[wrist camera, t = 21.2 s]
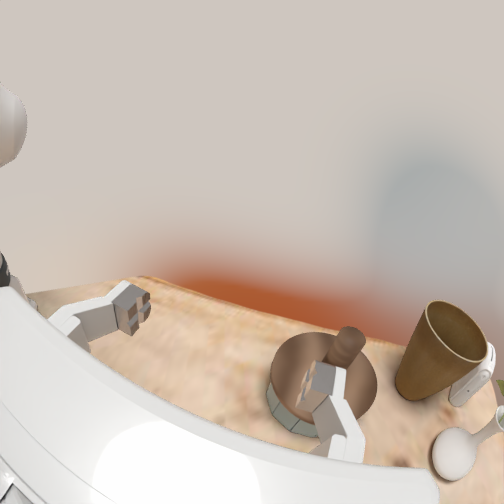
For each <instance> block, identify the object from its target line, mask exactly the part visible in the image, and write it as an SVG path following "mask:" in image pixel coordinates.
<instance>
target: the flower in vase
mask: <svg viewBox="0 0 504 504" xmlns="http://www.w3.org/2000/svg"><path fill="white" fill-rule="evenodd" d="M496 381H497V383H498V385H499V387H500V390H501V393H502V395H503V396H504V381H503V380H496ZM499 432H504V406H499V407H498V408H497V410H496V413H495V415H494V417H493V418H492V420H491V421H490V422H489V423H488V424H487V425H486V426H485V427H484V428H483V429H481V430H480V431H479V432H477V433H476V434H473V435H471V434H470V433H469V432H467V431H466V430H464V429H461V428H458V427H452V428H448V429H445V430H444V431H442V432H441V433H440V434H439V435H438V437H437V439H436V441H435V443H434V446H433V451H432V459H433V464H434V467H435V469H436V471H437V472H438V474H439V475H440V476H441V477H443V478H444V479H447V480H450V481H456V480H460V479H462V478H463V477H464V476H466V475H467V473H468V472H469V471H470V470H471V469H472V467H473V464H474V462H475V458H476V452H477V446H478V445H479V444H480V443H482V442H483V441H484V440H486V439H487V438H489V437H491V436H492V435H494V434H496V433H499Z"/></svg>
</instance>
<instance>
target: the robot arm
mask: <svg viewBox="0 0 504 504" xmlns="http://www.w3.org/2000/svg"><path fill="white" fill-rule="evenodd" d="M26 131H27V115H26V111H25V108H24V105H23V103H22V102H21V100H20V99H19V98H18V97H17V96H16V95H15V94H13V93H12V92H10V91H9V90H7V89H6V88H5V87H4V86H3V85H2V84H1V82H0V167H2V166H4V165H5V164H7V163H9V162H11V161H12V160H14V159H15V158H16V157H17V155H18V153H19V151H20V150H21V148H22V145H23V143H24V140H25V136H26ZM149 299H150V293H148V292H146V291H145V290H143V289H141V288H139V287H137V286H135V285H133V284H131V283H130V282H128V281H126V280H123V281H121V282H120V283H119V284H118V285H117V286H116V287H114V288H113V289H112V290H111V291H110V292H109V293H108V294H107V295H105V296H104V297H97V298H93V299H89V300H84V301H80V302H76V303H72V304H68V305H64V306H62V307H61V308H59V309H58V310H57V311H56V312H55V313H54V314H53V315H52V316H50V317H49V318H48V319H45V318H44V317H43V316H42V315H41V314H40V313H39V312H38V311H37V304H36V302H35V301H33V300H31V299H30V298H28V297H26V295H25V292H24V290H23V288H22V286H21V283H20V281H19V279H18V278H16V277H15V276H13V275H10V272H9V269H8V265H7V262H6V261H5V258H4V256H3V254H2V253H1V252H0V504H439V501H440V491H439V488H438V486H437V484H436V482H435V480H434V478H433V477H432V475H431V474H430V472H429V471H428V470H427V469H425V468H408V467H391V466H380V465H371V464H363V456H364V449H365V440H366V439H365V437H364V435H363V433H362V431H361V429H360V427H359V425H358V423H357V421H356V419H355V417H354V415H353V413H352V410H351V408H350V406H349V404H348V402H347V400H345V399H344V390H345V381H346V369H343V368H340V367H336V366H334V365H330V364H327V363H324V362H320V361H317V360H315V361H313V363H312V364H311V369H309V370H307V372H306V374H305V376H304V378H303V380H302V383H301V387H300V388H301V393H300V394H299V395H298V398H297V402H296V406H295V408H298V409H301V410H305V411H308V412H311V413H312V416H313V419H314V423H315V426H316V429H317V432H318V436H319V439H320V442H321V444H320V445H319V446H317V447H316V448H314V449H313V450H311V451H310V452H309V453H304V452H300V451H296V450H293V449H289V448H285V447H282V446H278V445H275V444H272V443H268V442H265V441H262V440H259V439H256V438H253V437H250V436H247V435H245V434H242V433H239V432H236V431H234V430H231V429H229V428H226V427H223V426H221V425H218V424H216V423H214V422H211V421H209V420H207V419H204V418H202V417H200V416H198V415H195V414H193V413H191V412H189V411H187V410H185V409H183V408H181V407H178V406H176V405H174V404H172V403H170V402H169V401H167V400H165V399H163V398H161V397H159V396H157V395H155V394H153V393H152V392H150V391H148V390H146V389H144V388H143V387H141V386H139V385H138V384H136V383H134V382H132V381H131V380H129V379H128V378H126V377H124V376H123V375H121V374H119V373H118V372H116V371H115V370H113V369H112V368H110V367H109V366H107V365H106V364H104V363H103V362H101V361H100V360H98V359H97V358H95V357H94V356H93V355H91V354H90V353H91V349H90V346H89V344H88V342H90V341H92V340H95V339H97V338H99V337H102V336H104V335H107V334H109V333H112V332H114V331H117V330H118V329H119V330H121V331H123V332H124V333H126V334H128V335H130V336H132V335H133V334H134V333H135V332H136V331H137V330H138V328H139V323H143V322H145V320H146V319H147V318H148V316H149V314H150V310H151V305H150V303H149V302H148V300H149Z"/></svg>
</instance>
